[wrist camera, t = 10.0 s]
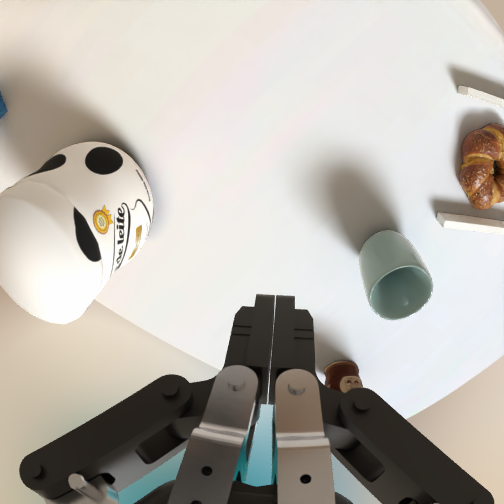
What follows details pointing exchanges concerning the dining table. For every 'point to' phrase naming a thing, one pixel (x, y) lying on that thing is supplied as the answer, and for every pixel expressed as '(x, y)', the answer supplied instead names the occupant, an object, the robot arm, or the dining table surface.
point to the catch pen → (469, 221)
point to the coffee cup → (342, 376)
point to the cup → (394, 276)
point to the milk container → (72, 229)
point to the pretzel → (483, 166)
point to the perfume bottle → (2, 107)
